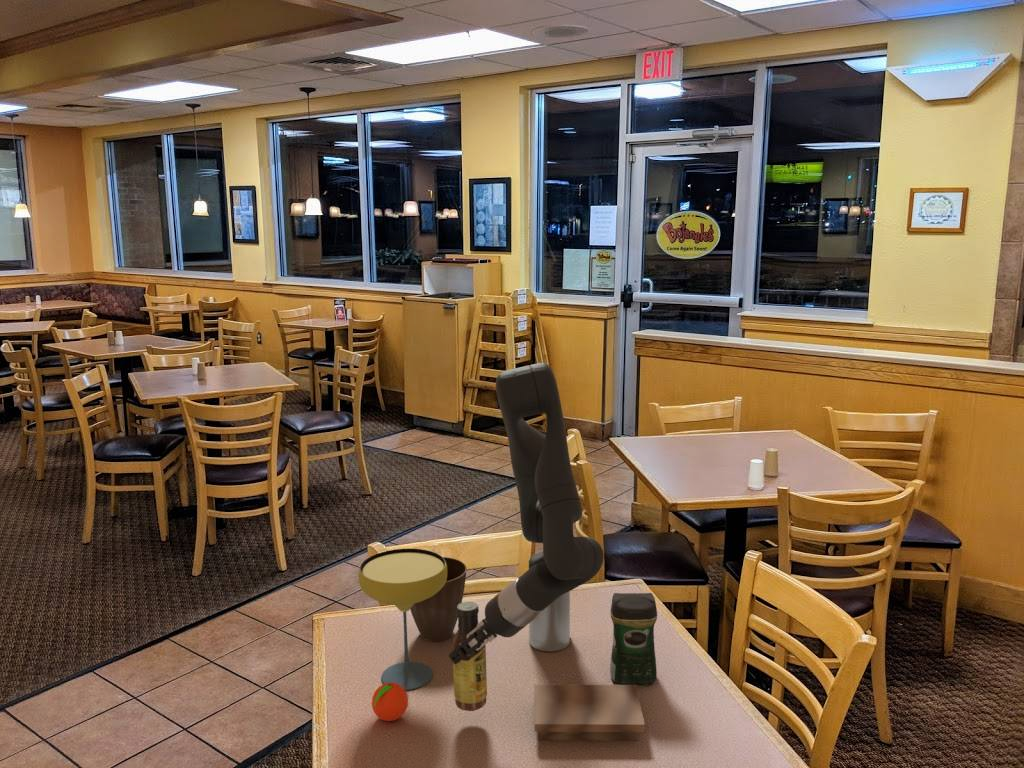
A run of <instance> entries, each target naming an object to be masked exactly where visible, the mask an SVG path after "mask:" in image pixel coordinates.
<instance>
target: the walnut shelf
mask: <svg viewBox="0 0 1024 768" xmlns="http://www.w3.org/2000/svg"><path fill="white" fill-rule="evenodd" d="M533 694H534V695H533V696H534V697H533V698H534V699H533V700H534V701H533V704H534V705H533V706H534V708H533V709H534V710H533V711H534V712H533V713H534V717H533V718H534V722H533V723H534V732H536V733H537V732H538V733H539V741H548V742H549V741H551V742H555V741H557V740H559V741H564V742H565V741H567V742H569V741H570V742H572V741H575V742H580V741H582V742H586V741H587V742H592V741H593V742H595V741H596V742H597V741H598V742H600V741H601V742H610V741H611V742H626V741H627V742H638V741H639V733H645V732H646V731H645V730H646V723H645V719H644V716H643V715H644V714H643V711H642V707H641V702H640V698H639V694H638V690H637V686H636V685H619V684H533ZM620 740H622V741H620ZM625 740H626V741H625ZM630 740H631V741H630Z"/></svg>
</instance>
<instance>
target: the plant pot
mask: <svg viewBox="0 0 1024 768" xmlns="http://www.w3.org/2000/svg"><path fill="white" fill-rule="evenodd" d="M442 557H443V558H444V560H445V561H446V564H447V580H446V582H445V585H444V586H443V587H442V588H441V590H439V591H438V592H437V593H436V594H435V595H433V596H432V597H430V598H428V599H426V600H423V601H421V602H418V603H415V604H413V606H412V607H411V608H410V610H409V611H410V613H411V615H412V618H413V620H414V623H415V625H416V628H417V630H418V632H419V635H420V637H422V639H424V640H425V639H426V640H425V641H429V642H440V641H444V640H447V639H449V638H450V637H452V635H453V633H454V630H455V628H456V625H457V623H458V614H457V605H458V604H460V603H462V602H463V598H464V593H465V588H466V587H465V586H466V580H467V579H466V578H467V571H468V569H467V568H468V567H467V565H466V564H465V563H464V562H463V561H461V560H459V559H456V558H453V557H447V556H442Z"/></svg>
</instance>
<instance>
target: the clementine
mask: <svg viewBox="0 0 1024 768" xmlns="http://www.w3.org/2000/svg"><path fill="white" fill-rule="evenodd" d="M408 703H409V697H408V693H407V690H405V689H404V688H403V687H402V686H400V685H399V684H396V683H385V684H383V683H382V685H379V687H378V688H377V689H376V690H375V691H374V693H373V695H372V699H371V708H372V711H373V713H374V714H375V716H377V717H378V719H380V720H381V721H385V722H394V721H396V720H398V719H400V718H401V717H402V716H403V715H404V714H405V713H406V711H407V709H408V706H409V704H408Z"/></svg>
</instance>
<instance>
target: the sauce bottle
mask: <svg viewBox="0 0 1024 768" xmlns="http://www.w3.org/2000/svg"><path fill="white" fill-rule="evenodd" d="M479 611H480V610H479V604H478V603H476V602H474V601H462V603H460V604H458V605H457V614H458V619H457V623H458V624H457V627H458V629H457V630H456V632H455V634H454V635H453V639H452V649H453V650H452V651H454V650H455V648H456V646H459V644H460V643H462V642H464V641H465V640H466V639H467V637H466V636H467V635H468V634H469V633H470V632H471V631H472V630H473V629H475V628H476V627H477V624H478V623H479ZM479 629H480V628H479ZM479 629H478V630H479ZM475 633H476V631H475V632H474V633H473V634H474V635H475ZM475 637H476V635H475ZM479 642H480V641H479ZM483 642H484V641H483ZM483 642H480V643H481V644H482V643H483ZM486 645H487V644H485V645H484V646H483V647H482V648H481V649H479V650H475V651H473V652H472V653H471V654H470V655H469V656H467V658H466V659H462V660H461V661H460V662H458V663H457V664H454V663H453V662H452V666H453V667H452V668H453V669H452V670H453V693H454V703H455V705H456V707H457V708H458V709H460V710H461V711H467V712H474V711H477V710H479V709H481V708H482V709H483V707H484V706H485V705H486V704H487V697H488V685H487V684H488V682H487V679H488V678H487V653H486V651H487V650H486V648H487V647H486Z"/></svg>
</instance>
